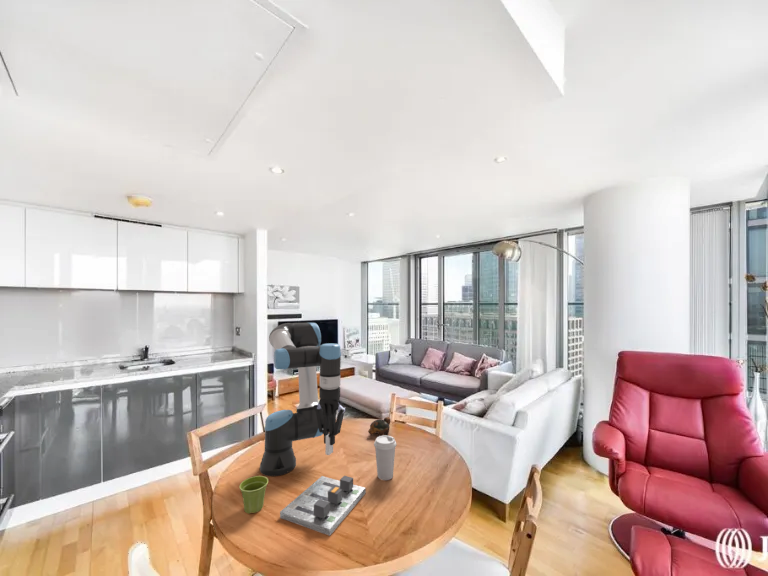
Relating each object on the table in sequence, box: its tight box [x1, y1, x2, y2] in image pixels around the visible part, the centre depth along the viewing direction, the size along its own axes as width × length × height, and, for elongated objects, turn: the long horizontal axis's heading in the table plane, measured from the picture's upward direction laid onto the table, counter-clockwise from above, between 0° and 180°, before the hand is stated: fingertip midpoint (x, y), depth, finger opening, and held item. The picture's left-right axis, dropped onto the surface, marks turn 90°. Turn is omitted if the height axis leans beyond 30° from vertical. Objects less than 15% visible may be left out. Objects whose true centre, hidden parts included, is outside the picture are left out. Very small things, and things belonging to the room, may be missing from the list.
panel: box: [279, 475, 367, 537], centre depth 112 cm, size 20×24×2 cm
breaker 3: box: [339, 475, 354, 492], centre depth 118 cm, size 4×3×4 cm
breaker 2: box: [328, 487, 342, 504], centre depth 111 cm, size 4×3×4 cm
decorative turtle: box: [367, 416, 391, 436], centre depth 173 cm, size 10×15×8 cm, turn 137°
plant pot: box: [239, 475, 269, 515], centre depth 110 cm, size 9×9×9 cm
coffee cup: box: [373, 435, 397, 481], centre depth 131 cm, size 10×10×15 cm
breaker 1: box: [314, 499, 329, 519], centre depth 103 cm, size 4×3×4 cm
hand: (329, 453), depth 112 cm, fingers closed
